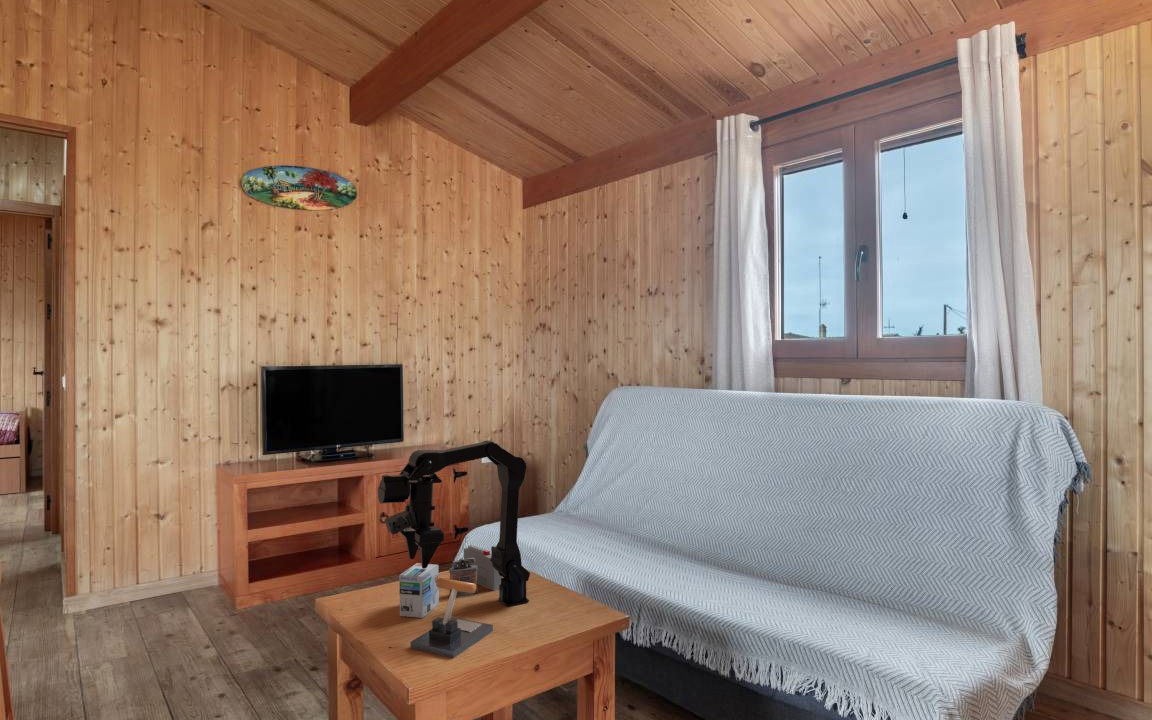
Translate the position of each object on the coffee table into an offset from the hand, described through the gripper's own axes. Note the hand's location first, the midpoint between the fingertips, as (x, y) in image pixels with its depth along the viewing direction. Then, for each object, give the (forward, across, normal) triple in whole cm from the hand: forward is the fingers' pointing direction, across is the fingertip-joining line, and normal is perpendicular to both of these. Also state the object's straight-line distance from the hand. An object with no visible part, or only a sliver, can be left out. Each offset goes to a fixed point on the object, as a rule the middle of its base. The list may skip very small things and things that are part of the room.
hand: (417, 563), depth 167 cm
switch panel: (+15, +14, +4) cm, 21 cm away
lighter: (+14, -12, +18) cm, 26 cm away
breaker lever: (+10, +16, +2) cm, 19 cm away
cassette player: (+14, -18, +27) cm, 35 cm away
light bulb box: (+15, -8, +4) cm, 18 cm away
